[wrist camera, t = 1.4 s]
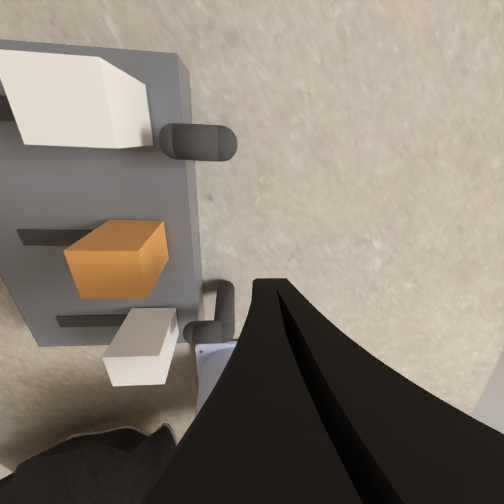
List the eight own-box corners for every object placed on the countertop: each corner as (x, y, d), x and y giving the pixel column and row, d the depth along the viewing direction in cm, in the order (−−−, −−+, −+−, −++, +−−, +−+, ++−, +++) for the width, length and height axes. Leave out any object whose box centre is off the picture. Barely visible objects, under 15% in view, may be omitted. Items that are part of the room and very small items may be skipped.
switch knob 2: (178, 333, 17) (164, 384, 14) (138, 334, 17) (112, 386, 13) (175, 307, 16) (159, 355, 13) (131, 308, 16) (102, 357, 12)
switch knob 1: (153, 145, 11) (117, 148, 8) (90, 142, 11) (24, 144, 8) (145, 84, 10) (99, 56, 7) (75, 80, 10) (-11, 48, 7)
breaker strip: (204, 316, 21) (200, 343, 18) (65, 318, 20) (37, 347, 17) (188, 71, 13) (176, 52, 10) (-48, 53, 12) (-134, 27, 9)
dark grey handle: (234, 291, 20) (234, 347, 14) (195, 291, 20) (181, 349, 14) (236, 130, 14) (237, 125, 9) (182, 127, 14) (151, 120, 9)
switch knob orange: (168, 258, 14) (147, 297, 11) (119, 258, 14) (80, 298, 11) (163, 220, 13) (138, 251, 10) (109, 219, 13) (62, 250, 9)
